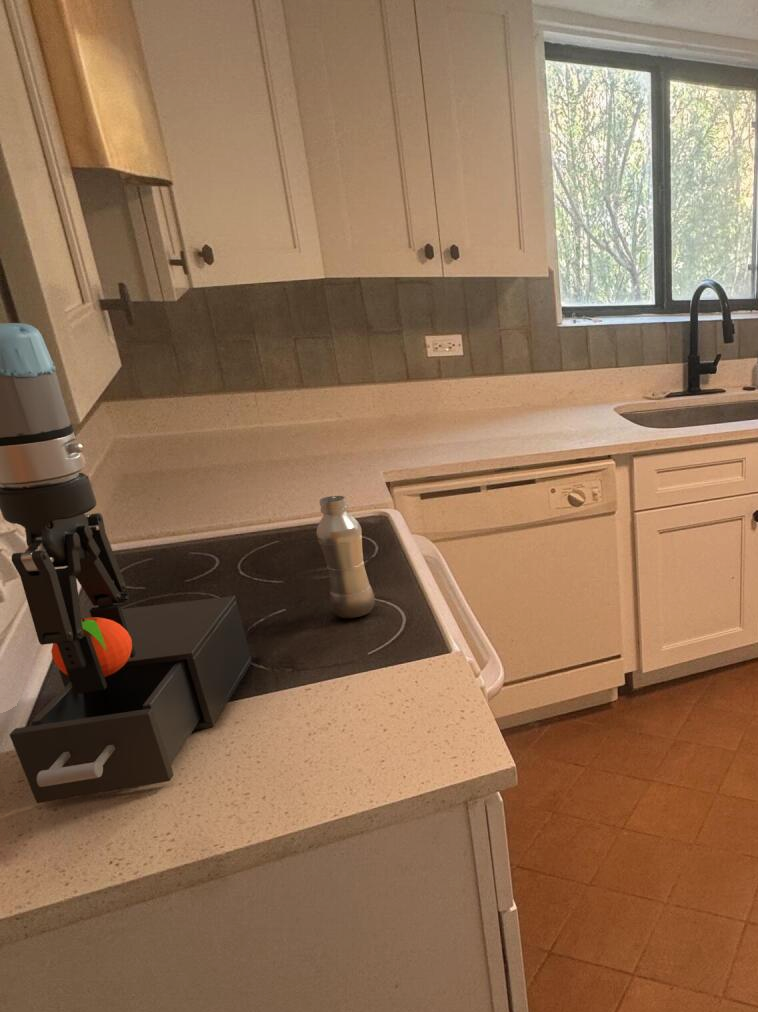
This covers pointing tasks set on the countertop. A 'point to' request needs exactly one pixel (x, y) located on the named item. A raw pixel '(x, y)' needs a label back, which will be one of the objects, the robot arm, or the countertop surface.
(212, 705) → the dark drawer cabinet
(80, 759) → the open grey drawer
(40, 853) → the countertop surface
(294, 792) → the countertop surface
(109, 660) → the clementine
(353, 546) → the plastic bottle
